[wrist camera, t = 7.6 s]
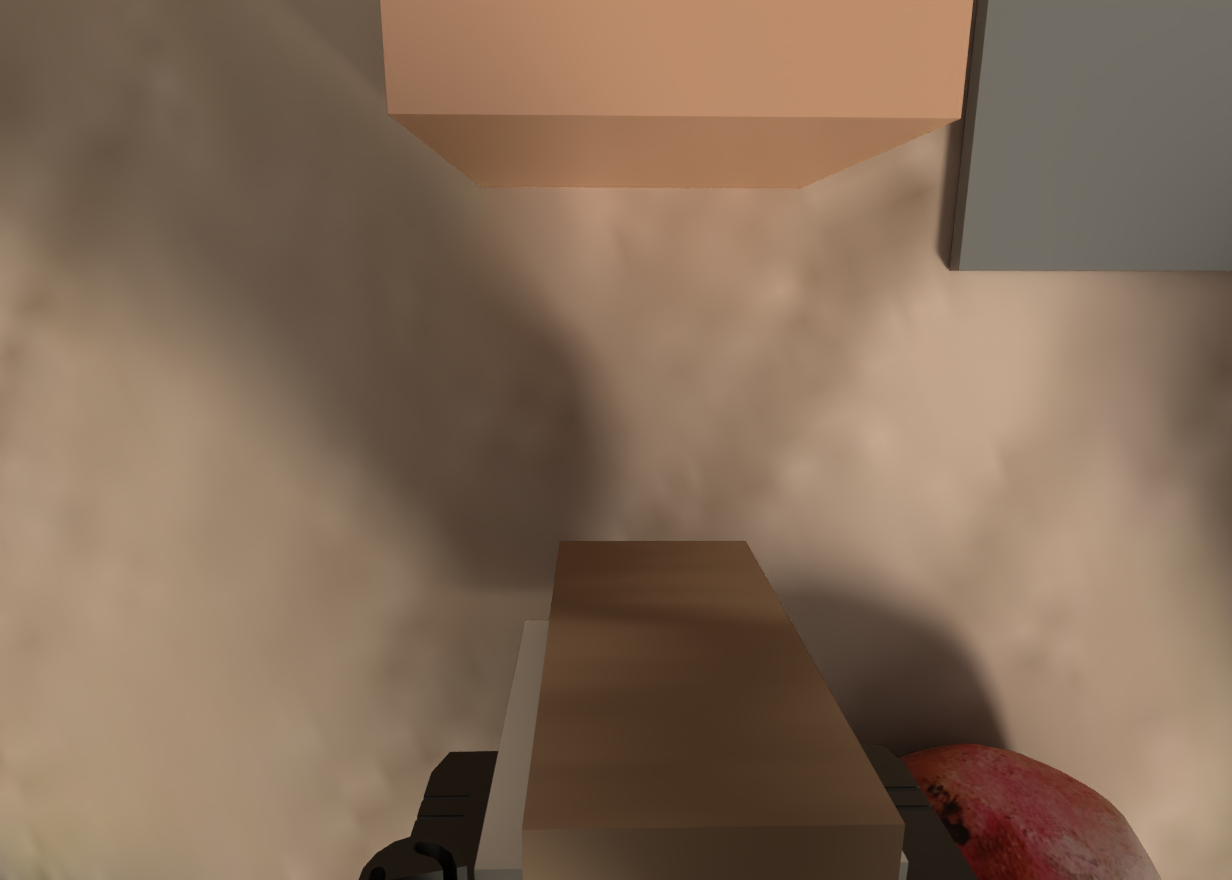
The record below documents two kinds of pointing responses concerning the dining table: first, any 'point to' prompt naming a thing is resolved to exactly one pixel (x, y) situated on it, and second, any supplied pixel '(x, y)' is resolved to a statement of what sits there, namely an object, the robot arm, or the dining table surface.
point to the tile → (671, 86)
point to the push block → (692, 730)
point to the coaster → (1097, 137)
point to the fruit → (1026, 817)
